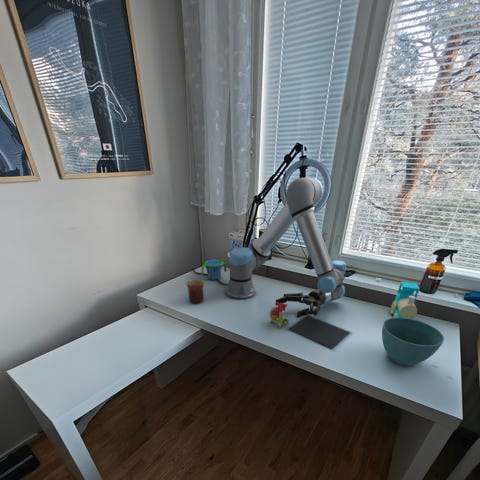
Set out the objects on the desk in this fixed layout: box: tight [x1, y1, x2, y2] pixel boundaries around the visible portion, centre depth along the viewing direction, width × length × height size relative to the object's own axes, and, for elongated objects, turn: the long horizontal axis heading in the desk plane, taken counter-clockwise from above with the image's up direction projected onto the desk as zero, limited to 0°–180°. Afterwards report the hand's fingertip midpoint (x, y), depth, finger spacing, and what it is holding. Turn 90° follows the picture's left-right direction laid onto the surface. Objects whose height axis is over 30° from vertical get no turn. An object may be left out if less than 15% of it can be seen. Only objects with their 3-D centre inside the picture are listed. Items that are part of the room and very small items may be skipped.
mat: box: [288, 315, 350, 350], centre depth 113 cm, size 20×16×1 cm
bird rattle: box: [269, 301, 289, 328], centre depth 115 cm, size 6×11×9 cm
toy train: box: [390, 281, 420, 320], centre depth 119 cm, size 8×17×15 cm, turn 160°
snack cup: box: [200, 259, 227, 281], centre depth 160 cm, size 16×10×10 cm
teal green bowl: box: [381, 317, 445, 366], centre depth 95 cm, size 18×18×12 cm
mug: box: [185, 278, 205, 305], centre depth 135 cm, size 12×9×10 cm
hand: (286, 308), depth 116 cm, fingers open, 13 cm apart
